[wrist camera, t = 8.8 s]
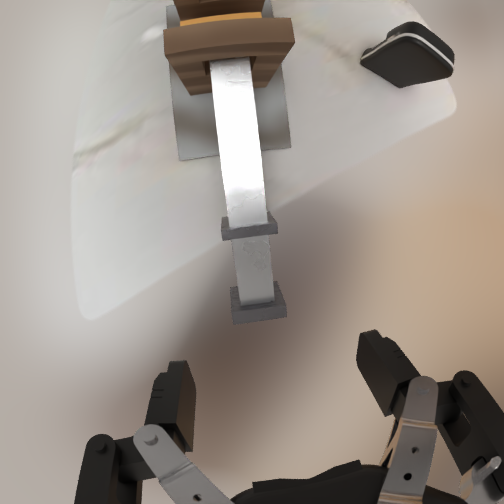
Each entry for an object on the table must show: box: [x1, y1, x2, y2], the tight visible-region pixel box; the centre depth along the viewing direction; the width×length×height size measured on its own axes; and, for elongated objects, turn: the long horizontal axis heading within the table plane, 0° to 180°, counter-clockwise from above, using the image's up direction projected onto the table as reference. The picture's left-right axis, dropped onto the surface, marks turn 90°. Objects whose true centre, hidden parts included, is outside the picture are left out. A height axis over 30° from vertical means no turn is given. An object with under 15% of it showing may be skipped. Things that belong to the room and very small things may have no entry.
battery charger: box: [361, 22, 454, 88], centre depth 21 cm, size 7×4×11 cm, turn 71°
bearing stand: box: [163, 0, 295, 161], centre depth 19 cm, size 20×12×14 cm, turn 6°
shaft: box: [209, 56, 287, 324], centre depth 21 cm, size 21×4×4 cm, turn 6°
